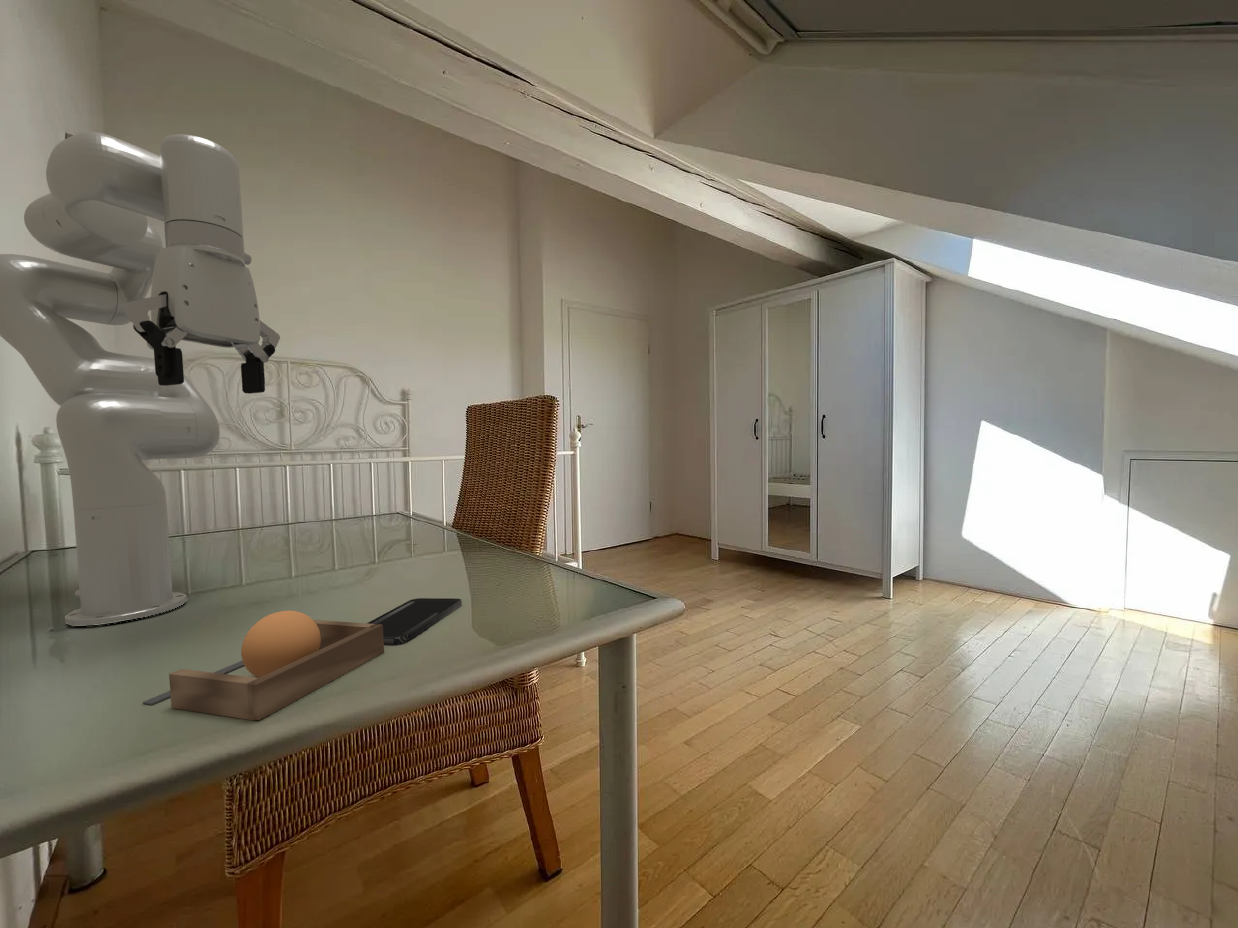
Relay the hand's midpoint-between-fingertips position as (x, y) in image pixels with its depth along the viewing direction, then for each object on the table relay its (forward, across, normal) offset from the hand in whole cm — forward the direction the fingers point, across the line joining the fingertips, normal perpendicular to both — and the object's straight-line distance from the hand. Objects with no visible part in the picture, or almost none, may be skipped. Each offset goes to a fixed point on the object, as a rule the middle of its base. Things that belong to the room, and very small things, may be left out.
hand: (215, 389), depth 62 cm
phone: (+31, -7, +21) cm, 38 cm away
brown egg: (+27, +9, +20) cm, 35 cm away
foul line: (+30, +9, +12) cm, 34 cm away
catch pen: (+30, +9, +20) cm, 37 cm away
